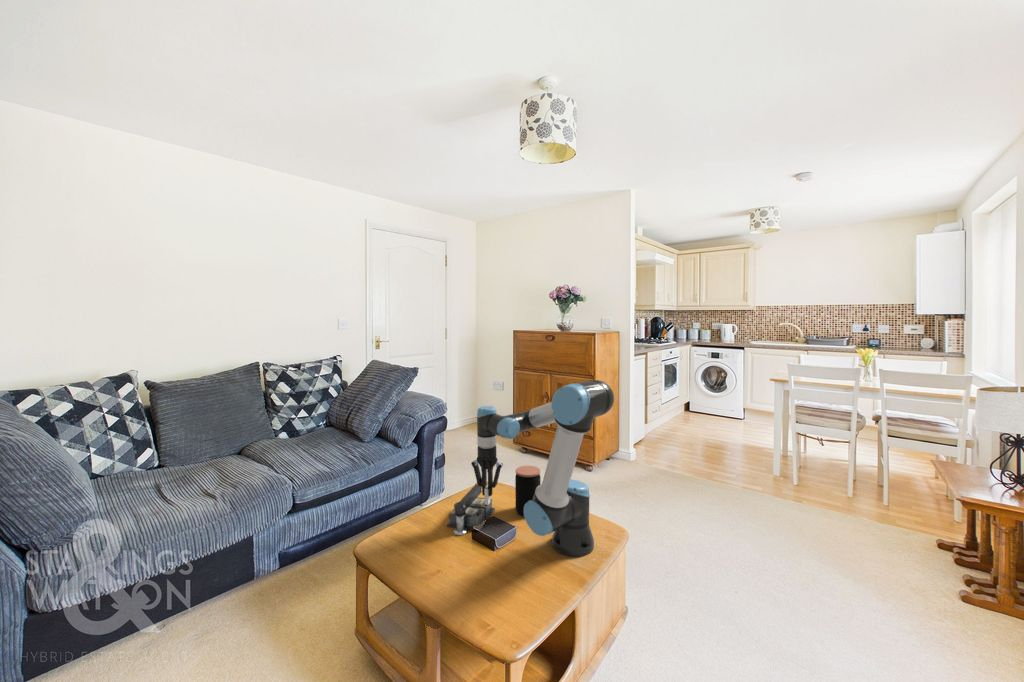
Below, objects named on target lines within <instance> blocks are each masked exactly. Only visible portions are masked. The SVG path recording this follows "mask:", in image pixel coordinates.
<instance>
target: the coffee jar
mask: <svg viewBox="0 0 1024 682" xmlns="http://www.w3.org/2000/svg"><path fill="white" fill-rule="evenodd" d="M514 471H515V475H514V476H515V480H514V481H515V482H514V483H515V485H514V486H515V487H514V488H515V511H516V513H517V514H518V515H519V516H521V517H524V506H525V504H526V503H527V502H528V501H530V500H532V499H533V497H534V494H535V490H536V488H537V487H538V486H539V485H541V469H540V468H539V467H537V466H533V465H521V466H518V467H517V468H515V470H514Z"/></svg>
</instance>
